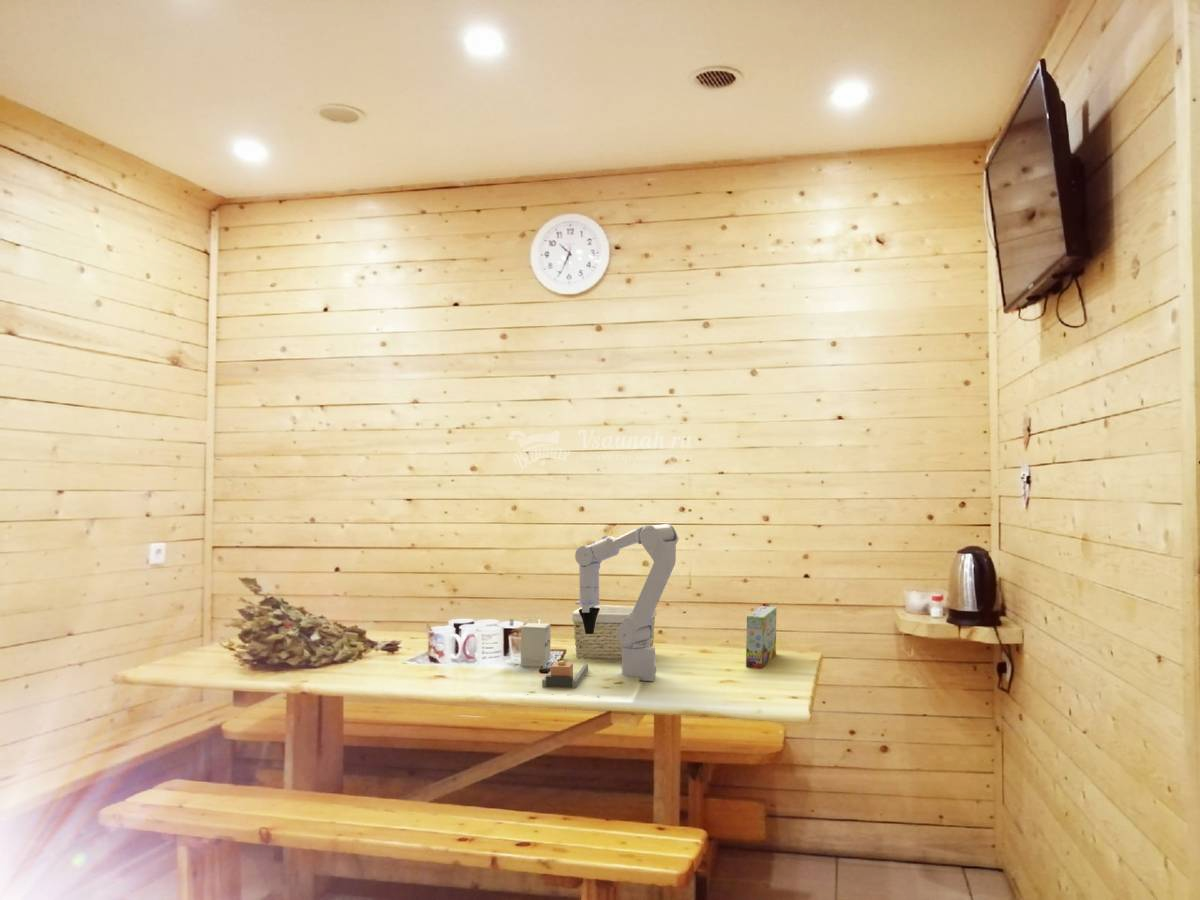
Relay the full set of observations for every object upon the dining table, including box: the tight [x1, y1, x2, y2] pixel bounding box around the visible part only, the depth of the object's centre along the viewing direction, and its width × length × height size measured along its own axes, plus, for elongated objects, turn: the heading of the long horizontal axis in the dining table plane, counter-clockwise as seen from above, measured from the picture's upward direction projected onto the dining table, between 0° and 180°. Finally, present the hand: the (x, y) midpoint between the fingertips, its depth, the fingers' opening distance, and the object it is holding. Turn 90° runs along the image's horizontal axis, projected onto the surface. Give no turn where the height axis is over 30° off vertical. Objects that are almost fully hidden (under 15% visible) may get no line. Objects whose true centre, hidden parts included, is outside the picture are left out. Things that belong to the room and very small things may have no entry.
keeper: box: [550, 660, 574, 677], centre depth 227 cm, size 5×5×6 cm
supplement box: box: [520, 622, 551, 668], centre depth 251 cm, size 7×7×13 cm
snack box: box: [745, 605, 778, 669], centre depth 259 cm, size 21×6×15 cm, turn 158°
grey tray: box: [541, 663, 589, 689], centre depth 233 cm, size 12×20×4 cm, turn 172°
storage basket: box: [571, 604, 657, 661], centre depth 267 cm, size 24×16×15 cm
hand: (589, 633), depth 249 cm, fingers closed
